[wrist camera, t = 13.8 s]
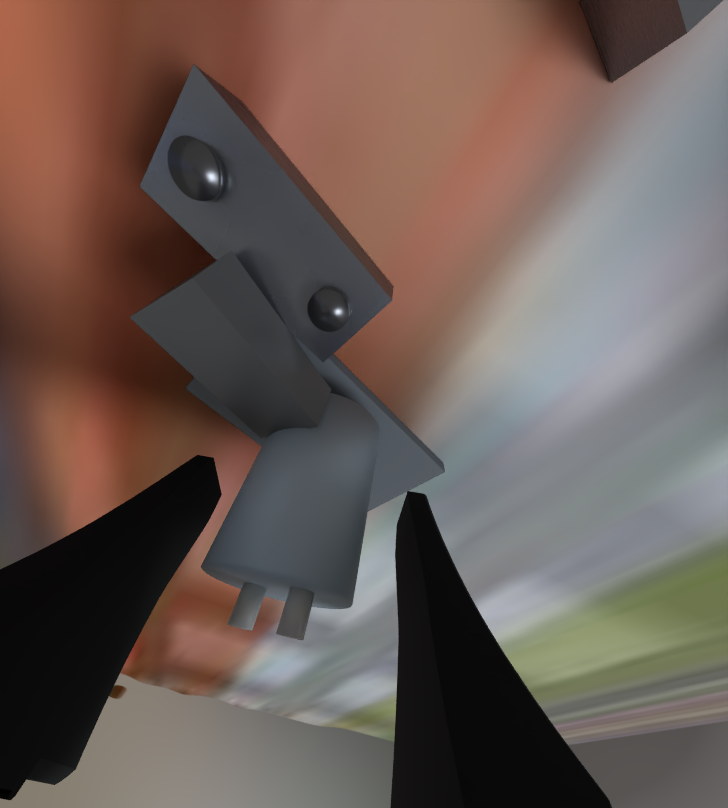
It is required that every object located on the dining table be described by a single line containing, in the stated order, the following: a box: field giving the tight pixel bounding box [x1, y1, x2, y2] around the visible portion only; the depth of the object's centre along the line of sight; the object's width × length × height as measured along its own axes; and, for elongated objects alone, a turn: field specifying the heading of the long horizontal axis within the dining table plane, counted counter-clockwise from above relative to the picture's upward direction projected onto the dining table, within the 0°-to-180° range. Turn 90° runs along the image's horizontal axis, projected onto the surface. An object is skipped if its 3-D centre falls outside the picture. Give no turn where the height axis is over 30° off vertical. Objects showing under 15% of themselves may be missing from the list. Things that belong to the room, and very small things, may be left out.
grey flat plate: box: [185, 330, 445, 511], centre depth 13 cm, size 11×6×1 cm, turn 43°
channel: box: [140, 0, 723, 363], centre depth 6 cm, size 6×13×3 cm, turn 133°
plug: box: [130, 251, 380, 640], centre depth 8 cm, size 9×4×7 cm, turn 25°
